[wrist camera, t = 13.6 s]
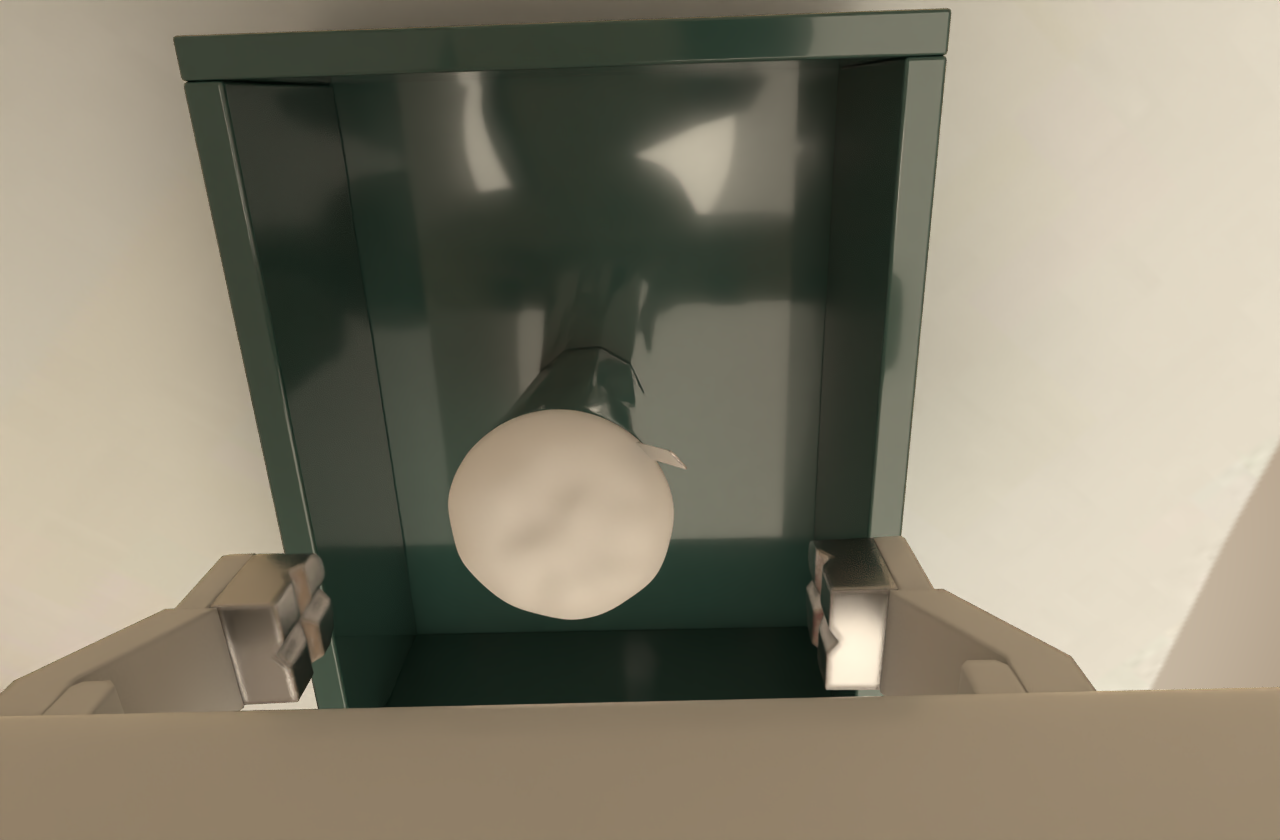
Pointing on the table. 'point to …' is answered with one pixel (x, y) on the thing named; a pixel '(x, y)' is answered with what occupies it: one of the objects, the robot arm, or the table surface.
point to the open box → (577, 317)
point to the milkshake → (567, 493)
